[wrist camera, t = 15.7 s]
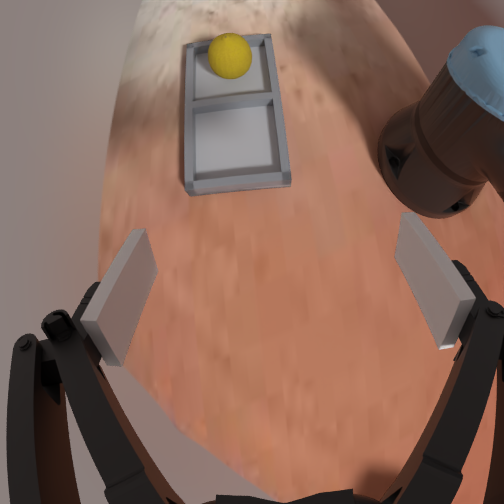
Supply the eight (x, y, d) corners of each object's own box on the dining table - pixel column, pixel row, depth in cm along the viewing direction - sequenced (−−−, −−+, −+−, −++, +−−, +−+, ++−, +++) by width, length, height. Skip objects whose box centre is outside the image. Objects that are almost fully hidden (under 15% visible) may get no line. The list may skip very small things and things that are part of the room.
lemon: (211, 64, 40) (200, 27, 32) (250, 57, 39) (245, 18, 31) (216, 93, 39) (204, 57, 31) (257, 86, 39) (253, 48, 31)
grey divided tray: (190, 54, 41) (186, 44, 39) (271, 44, 40) (270, 33, 38) (190, 196, 38) (184, 190, 36) (290, 186, 38) (291, 179, 35)
